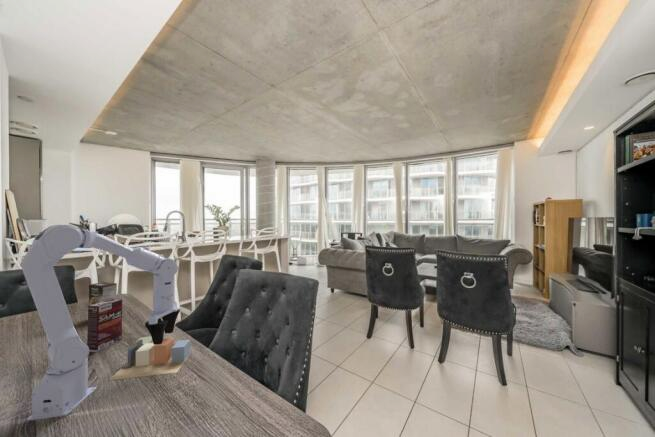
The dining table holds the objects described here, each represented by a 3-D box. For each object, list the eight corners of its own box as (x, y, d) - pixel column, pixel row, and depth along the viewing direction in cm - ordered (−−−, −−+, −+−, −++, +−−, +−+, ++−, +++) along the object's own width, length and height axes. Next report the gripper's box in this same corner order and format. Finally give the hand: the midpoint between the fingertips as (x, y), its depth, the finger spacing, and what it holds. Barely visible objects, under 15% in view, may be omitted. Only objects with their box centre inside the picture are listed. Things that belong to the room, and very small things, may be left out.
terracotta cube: (166, 363, 77) (166, 345, 77) (153, 364, 76) (153, 346, 76) (173, 354, 82) (173, 337, 82) (161, 355, 81) (161, 339, 81)
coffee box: (87, 319, 114) (88, 284, 114) (104, 314, 120) (104, 281, 121) (101, 321, 112) (101, 286, 112) (117, 316, 118) (117, 282, 118)
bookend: (130, 367, 75) (130, 349, 75) (122, 368, 74) (122, 350, 74) (142, 356, 81) (142, 339, 81) (134, 357, 80) (134, 340, 80)
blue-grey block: (184, 361, 78) (184, 346, 78) (171, 362, 77) (171, 348, 77) (189, 352, 83) (189, 339, 83) (178, 354, 82) (178, 340, 82)
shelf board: (177, 374, 72) (177, 372, 72) (108, 382, 69) (108, 380, 69) (191, 353, 84) (191, 351, 84) (133, 358, 81) (133, 357, 81)
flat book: (148, 348, 89) (148, 342, 89) (133, 350, 87) (133, 345, 87) (154, 340, 94) (154, 335, 94) (140, 342, 93) (140, 337, 93)
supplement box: (97, 353, 84) (97, 306, 85) (86, 352, 85) (86, 305, 86) (123, 341, 93) (123, 298, 93) (112, 340, 94) (112, 298, 94)
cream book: (148, 364, 76) (148, 350, 76) (135, 366, 75) (135, 351, 75) (156, 356, 81) (156, 342, 81) (144, 357, 80) (144, 343, 80)
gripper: (167, 301, 73) (167, 348, 73) (186, 288, 87) (185, 327, 87) (140, 303, 72) (140, 350, 71) (164, 290, 86) (163, 329, 86)
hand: (163, 338), depth 79 cm, fingers open, 7 cm apart
